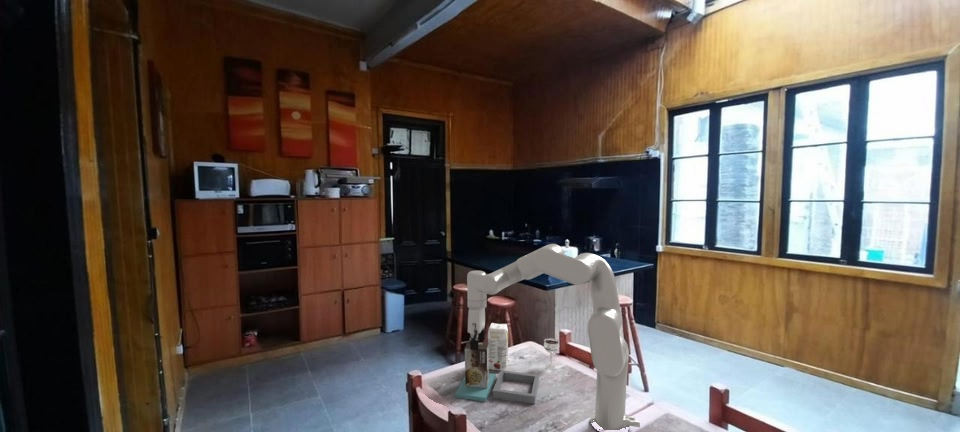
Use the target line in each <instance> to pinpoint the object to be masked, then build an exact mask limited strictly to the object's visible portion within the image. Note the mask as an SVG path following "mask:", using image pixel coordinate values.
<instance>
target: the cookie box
mask: <svg viewBox="0 0 960 432" xmlns="http://www.w3.org/2000/svg"><path fill="white" fill-rule="evenodd" d="M489 370H490V369H489V343H488V341H487V342H484V341H482V342H480V341H479V349H478V350H471V349H470V341H467V342H466V344H465V347H464V377H465V387H478V388H487V387H488V383H489V373H490V371H489Z"/></svg>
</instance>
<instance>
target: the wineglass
mask: <svg viewBox="0 0 960 432" xmlns="http://www.w3.org/2000/svg"><path fill="white" fill-rule="evenodd" d="M543 342H544V343H543V348H544V350H545V351H546V353H549V354H550V357H549V358H550V364H549V363H548V364H546V365H545V366H546V367H545V368H546V369H547V370H549V369H554V368H555V366H556V365H555V364H552V363H553V360H552V359H553V355H554V354H555V353H556V352H558V351H559V349H560V341H559V339H557V338H554V337H548V338H544V340H543ZM554 365H555V366H554Z"/></svg>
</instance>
